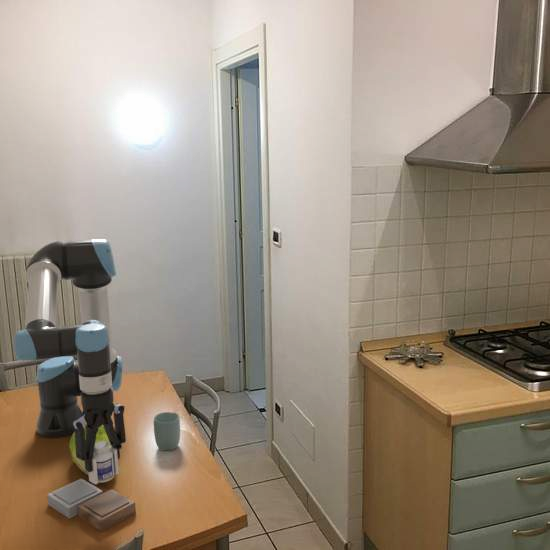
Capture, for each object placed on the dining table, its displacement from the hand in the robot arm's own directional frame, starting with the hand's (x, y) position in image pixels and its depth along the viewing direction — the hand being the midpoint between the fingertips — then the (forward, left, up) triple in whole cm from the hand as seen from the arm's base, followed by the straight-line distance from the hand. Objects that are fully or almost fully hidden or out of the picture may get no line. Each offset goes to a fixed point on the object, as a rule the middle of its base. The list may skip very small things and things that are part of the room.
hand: (104, 476), depth 156 cm
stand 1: (-11, -2, -11) cm, 15 cm away
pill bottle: (0, 0, 0) cm, 1 cm away
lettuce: (-22, +12, -11) cm, 27 cm away
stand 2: (0, 0, -11) cm, 11 cm away
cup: (-16, +33, -11) cm, 38 cm away
